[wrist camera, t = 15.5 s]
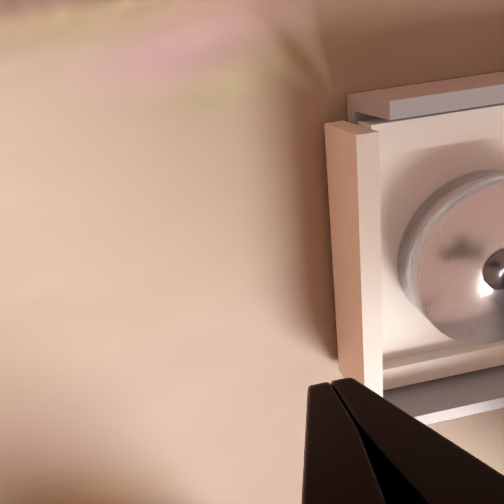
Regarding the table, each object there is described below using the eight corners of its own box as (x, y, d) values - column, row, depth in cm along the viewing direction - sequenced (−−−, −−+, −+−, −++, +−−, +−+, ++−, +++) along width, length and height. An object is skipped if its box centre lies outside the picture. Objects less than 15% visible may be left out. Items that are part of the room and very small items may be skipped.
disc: (578, 205, 20) (621, 220, 18) (490, 336, 22) (520, 363, 20) (453, 142, 18) (486, 152, 16) (368, 294, 20) (389, 318, 18)
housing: (616, 54, 20) (719, 52, 16) (568, 332, 25) (636, 377, 21) (346, 94, 18) (389, 101, 15) (357, 376, 24) (391, 432, 20)
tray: (591, 82, 20) (674, 85, 16) (553, 324, 24) (611, 363, 21) (324, 123, 18) (356, 135, 15) (338, 369, 23) (365, 418, 20)
